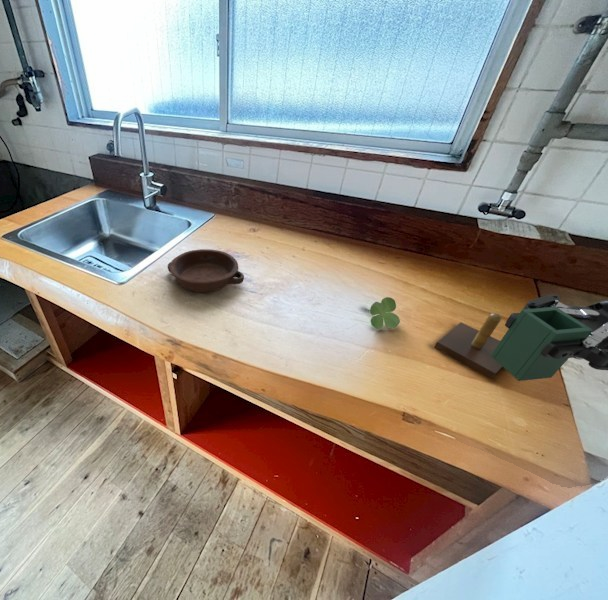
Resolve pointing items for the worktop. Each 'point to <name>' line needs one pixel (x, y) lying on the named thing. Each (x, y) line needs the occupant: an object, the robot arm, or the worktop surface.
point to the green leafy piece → (384, 314)
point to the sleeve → (536, 342)
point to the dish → (205, 270)
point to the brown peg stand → (473, 345)
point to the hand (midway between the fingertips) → (527, 335)
